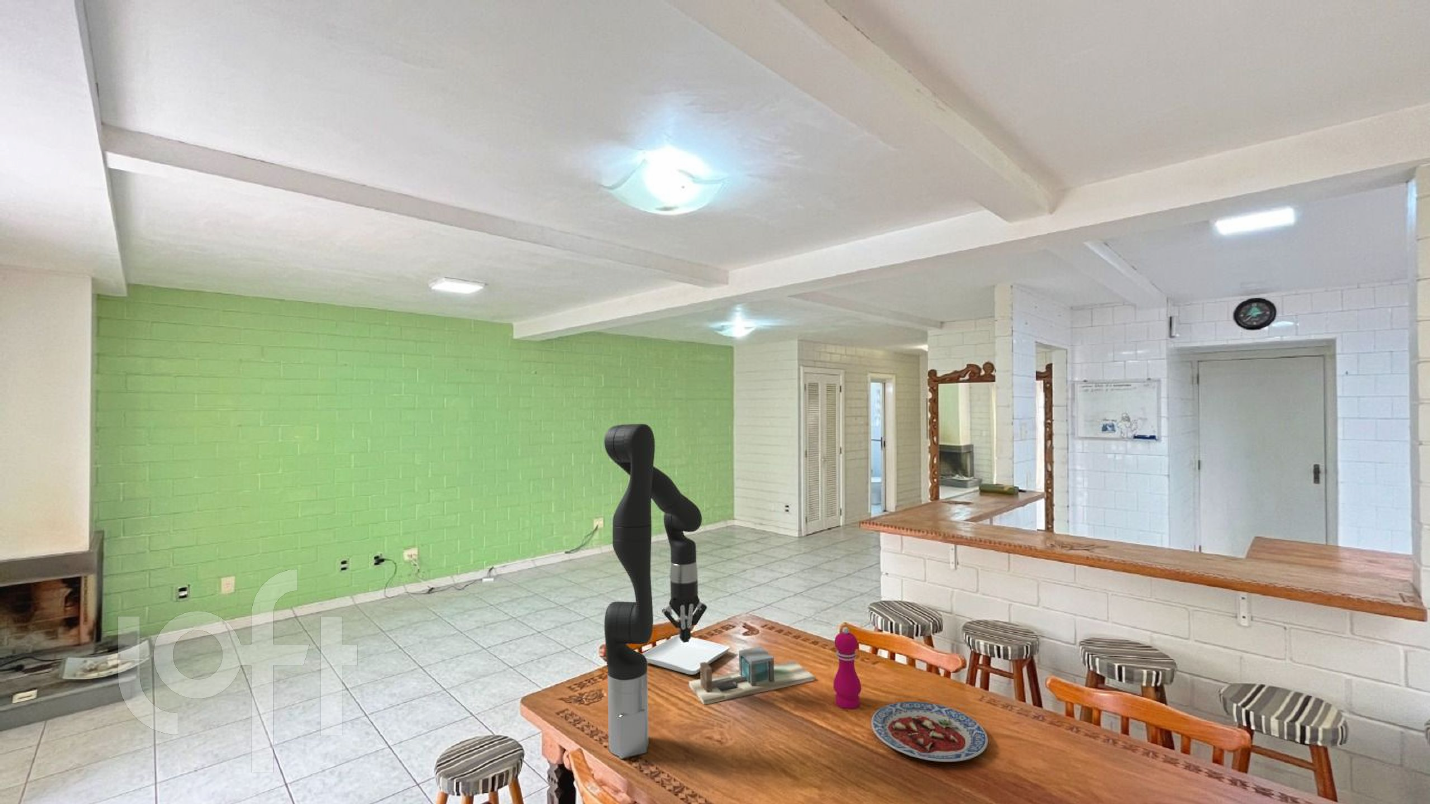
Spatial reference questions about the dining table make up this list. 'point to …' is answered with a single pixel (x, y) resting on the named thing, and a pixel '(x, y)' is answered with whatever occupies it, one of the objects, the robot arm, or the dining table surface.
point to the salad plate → (685, 654)
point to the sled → (760, 672)
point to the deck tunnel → (753, 678)
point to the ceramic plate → (929, 731)
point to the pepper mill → (846, 671)
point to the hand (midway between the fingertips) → (685, 641)
